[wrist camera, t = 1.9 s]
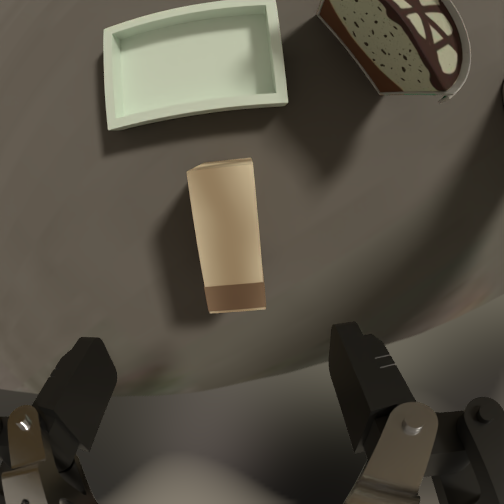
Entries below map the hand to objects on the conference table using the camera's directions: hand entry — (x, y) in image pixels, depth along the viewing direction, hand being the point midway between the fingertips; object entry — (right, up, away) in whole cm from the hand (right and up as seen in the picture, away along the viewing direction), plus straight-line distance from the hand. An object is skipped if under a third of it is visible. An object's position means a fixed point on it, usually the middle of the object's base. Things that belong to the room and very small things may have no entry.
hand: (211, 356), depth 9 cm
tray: (-4, +19, +11) cm, 22 cm away
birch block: (0, +6, +16) cm, 17 cm away
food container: (+12, +23, +10) cm, 27 cm away
